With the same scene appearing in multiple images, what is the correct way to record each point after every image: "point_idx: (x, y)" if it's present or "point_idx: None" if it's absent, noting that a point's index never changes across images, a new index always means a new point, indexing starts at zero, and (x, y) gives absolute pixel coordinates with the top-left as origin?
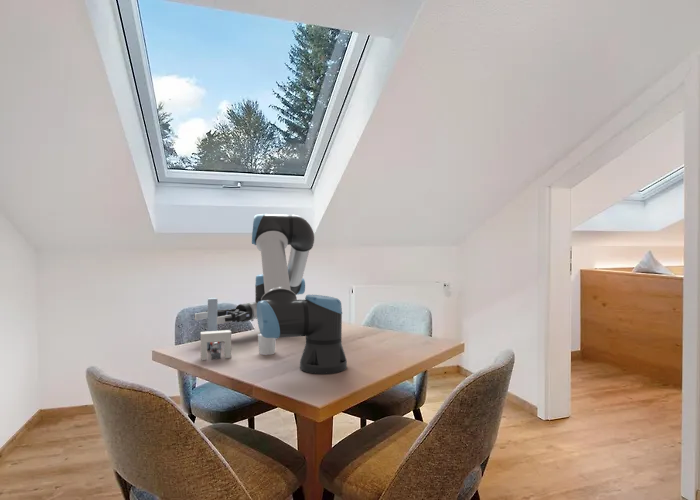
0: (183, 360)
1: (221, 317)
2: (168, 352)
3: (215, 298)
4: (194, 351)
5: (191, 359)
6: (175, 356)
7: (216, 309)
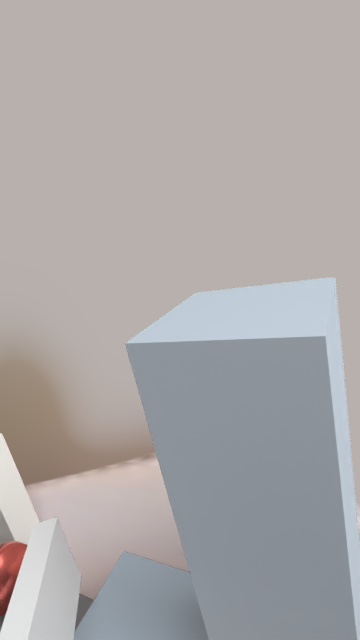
0: (75, 475)
1: (22, 580)
2: None
3: (211, 326)
4: (167, 543)
5: (59, 498)
6: (148, 465)
7: (179, 501)
